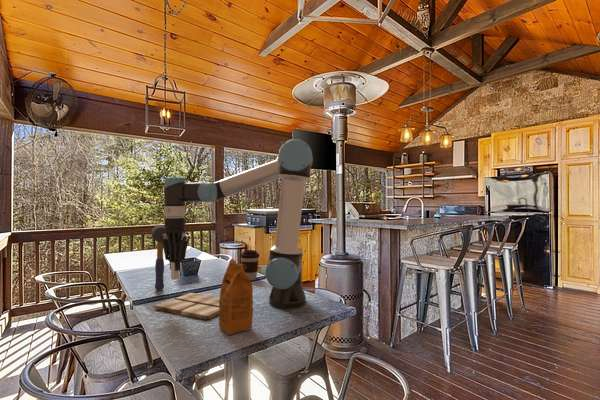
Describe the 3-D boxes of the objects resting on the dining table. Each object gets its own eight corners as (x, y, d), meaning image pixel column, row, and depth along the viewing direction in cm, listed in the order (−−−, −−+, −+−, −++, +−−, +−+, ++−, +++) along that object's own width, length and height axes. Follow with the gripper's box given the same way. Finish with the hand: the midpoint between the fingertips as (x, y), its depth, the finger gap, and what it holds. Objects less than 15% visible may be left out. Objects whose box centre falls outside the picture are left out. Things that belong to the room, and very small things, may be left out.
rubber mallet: (169, 292, 140) (170, 226, 140) (151, 294, 137) (152, 226, 137) (166, 285, 151) (167, 224, 151) (149, 287, 148) (150, 224, 148)
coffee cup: (239, 277, 170) (239, 249, 170) (257, 276, 173) (257, 249, 173) (241, 281, 160) (241, 252, 161) (260, 280, 163) (260, 252, 163)
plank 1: (196, 306, 122) (196, 303, 122) (178, 313, 114) (178, 310, 114) (172, 302, 127) (173, 299, 127) (154, 308, 119) (154, 305, 119)
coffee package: (243, 318, 111) (244, 257, 111) (255, 331, 100) (256, 263, 100) (215, 323, 106) (216, 259, 106) (225, 337, 96) (226, 266, 96)
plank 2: (223, 311, 117) (223, 308, 117) (207, 319, 109) (207, 316, 109) (198, 306, 122) (198, 303, 122) (180, 314, 113) (180, 310, 113)
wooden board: (238, 304, 126) (238, 299, 126) (224, 311, 118) (224, 306, 118) (190, 296, 136) (190, 291, 136) (174, 302, 128) (174, 297, 128)
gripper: (154, 217, 119) (154, 279, 118) (180, 218, 113) (180, 282, 113) (169, 216, 125) (170, 275, 125) (195, 217, 120) (195, 278, 120)
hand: (175, 278), depth 119 cm, fingers closed
